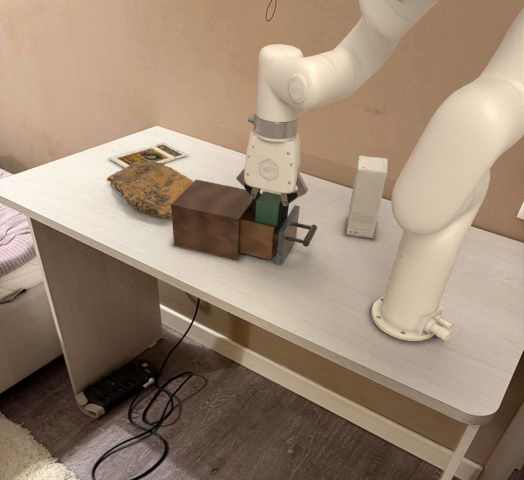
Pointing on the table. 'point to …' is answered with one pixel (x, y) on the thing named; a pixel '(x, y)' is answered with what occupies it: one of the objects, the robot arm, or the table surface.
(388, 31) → the robot arm
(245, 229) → the drawer
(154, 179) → the rock
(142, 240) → the table surface
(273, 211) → the block
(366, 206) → the white tower device
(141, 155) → the trading card
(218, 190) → the cabinet
